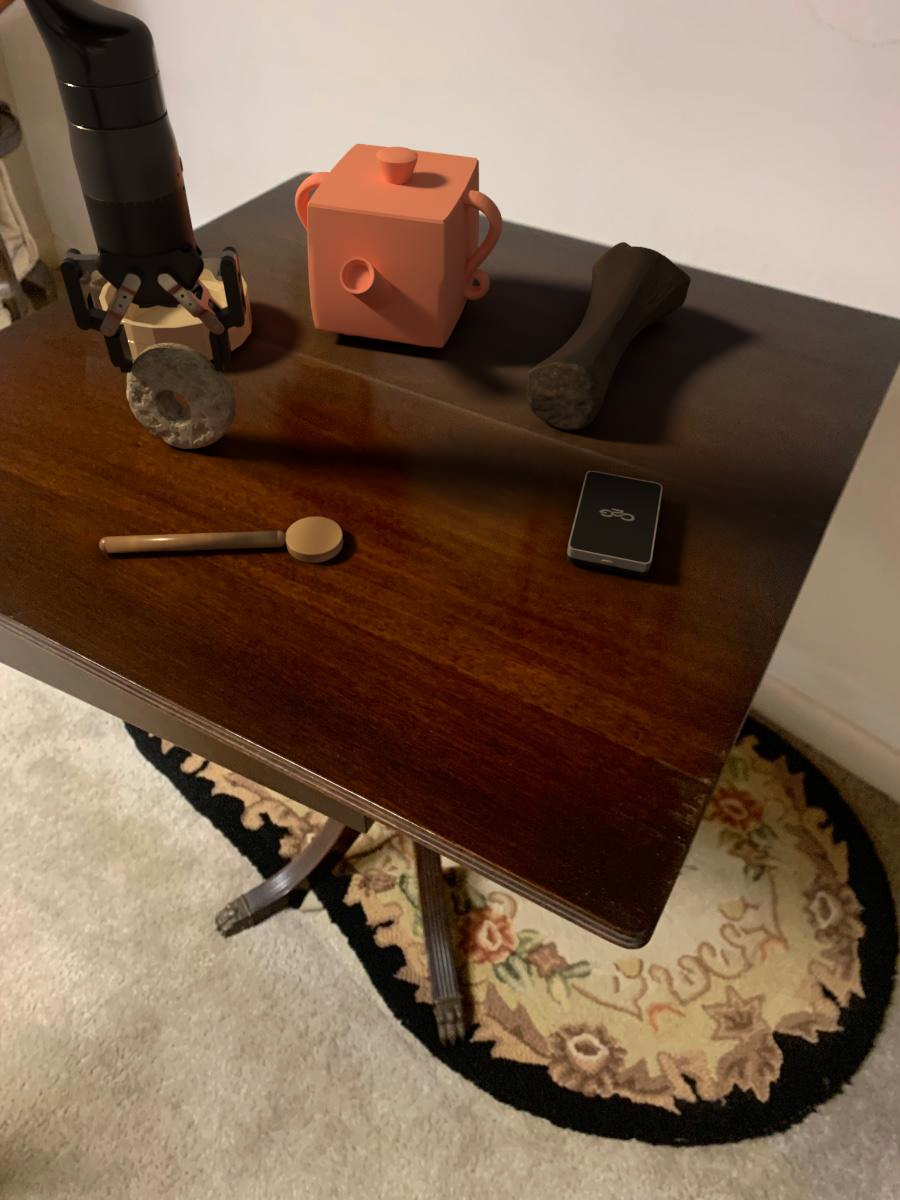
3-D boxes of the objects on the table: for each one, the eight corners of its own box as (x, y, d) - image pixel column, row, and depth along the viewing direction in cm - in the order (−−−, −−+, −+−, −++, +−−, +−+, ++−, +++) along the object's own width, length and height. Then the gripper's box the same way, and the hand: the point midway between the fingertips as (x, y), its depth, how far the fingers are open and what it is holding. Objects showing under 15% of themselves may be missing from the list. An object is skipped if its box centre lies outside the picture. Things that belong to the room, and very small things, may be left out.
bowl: (100, 372, 92) (87, 328, 89) (123, 300, 103) (113, 258, 99) (247, 369, 94) (241, 326, 90) (256, 298, 104) (250, 257, 100)
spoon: (96, 571, 72) (91, 559, 71) (106, 532, 76) (102, 519, 75) (343, 562, 74) (342, 549, 73) (343, 523, 77) (342, 511, 76)
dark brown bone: (621, 317, 108) (537, 465, 93) (590, 237, 102) (495, 382, 86) (707, 298, 101) (632, 454, 86) (680, 211, 95) (594, 363, 80)
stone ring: (132, 441, 84) (107, 347, 77) (152, 421, 87) (129, 327, 80) (229, 463, 83) (212, 369, 75) (246, 442, 85) (232, 349, 78)
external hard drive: (658, 500, 81) (663, 483, 79) (645, 583, 73) (650, 566, 72) (583, 486, 82) (586, 469, 80) (563, 566, 75) (566, 549, 73)
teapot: (464, 406, 90) (474, 234, 77) (255, 373, 93) (230, 201, 80) (507, 291, 107) (521, 134, 94) (329, 266, 110) (318, 110, 97)
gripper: (22, 199, 64) (84, 393, 76) (223, 197, 65) (253, 389, 77) (45, 159, 69) (99, 347, 81) (231, 158, 70) (258, 343, 82)
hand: (174, 367), depth 79 cm, fingers closed on stone ring, 7 cm apart
